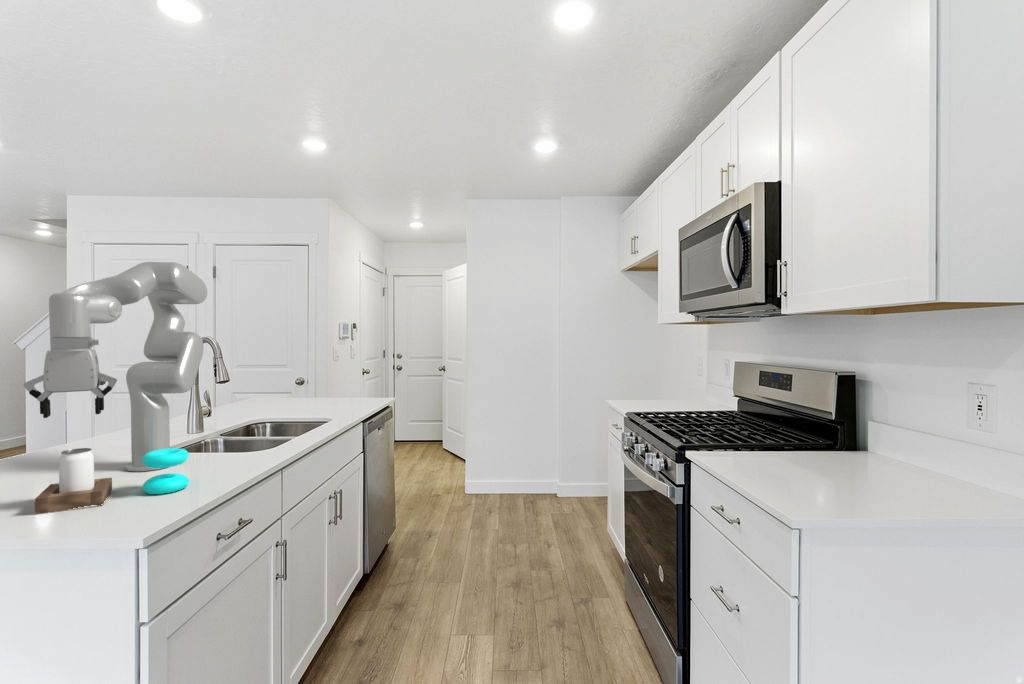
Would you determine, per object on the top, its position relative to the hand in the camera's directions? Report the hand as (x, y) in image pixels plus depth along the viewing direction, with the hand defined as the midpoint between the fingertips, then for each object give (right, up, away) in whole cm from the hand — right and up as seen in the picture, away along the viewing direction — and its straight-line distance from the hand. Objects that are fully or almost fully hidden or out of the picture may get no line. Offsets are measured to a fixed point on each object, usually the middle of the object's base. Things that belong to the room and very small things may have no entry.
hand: (73, 415), depth 125 cm
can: (+2, -21, -1) cm, 21 cm away
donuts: (+17, -21, +9) cm, 28 cm away
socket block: (+2, -21, -1) cm, 21 cm away
